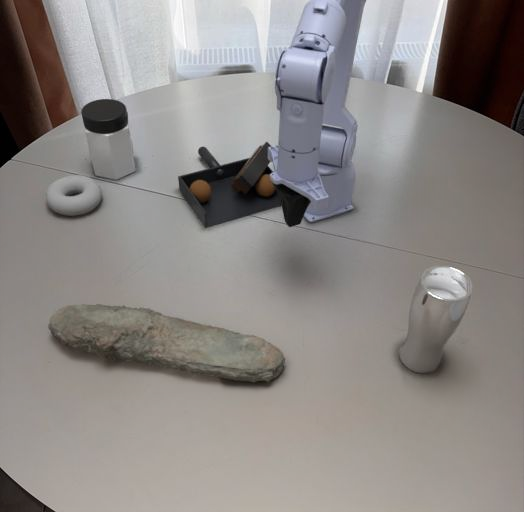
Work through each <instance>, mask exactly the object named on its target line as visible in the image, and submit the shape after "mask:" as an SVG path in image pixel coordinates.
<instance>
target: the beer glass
mask: <svg viewBox="0 0 524 512" xmlns="http://www.w3.org/2000/svg"><path fill="white" fill-rule="evenodd" d="M473 285H474V284H473V282H472V279H470V277H469V276H468V275H467V273H465V272H464V271H462V270H460V269H458V268H456V267H453V266H451V265H450V266H449V265H444V264H443V265H440V264H439V265H433V266H430V267H428V268H426V269H424V271H423V272H422V273H421V275H420V278H419V280H418V283H417V285H416V287H415V290H414V292H413V296H412V298H411V303H410V306H409V311H408V325H407V326H408V327H407V335H406V338H405V340H404V342H403V343H402V344H401V346H400V348H399V349H398V357H399V360H400V362H401V364H403V366H404V367H406V368H407V369H409V370H410V371H412V372H415V373H419V374H427V373H429V374H430V373H432V372H434V371H436V370H437V369H438V368H439V366H440V365H441V362H442V357H443V350H444V347H445V346H446V344H447V343H448V341H449V340H450V338H451V337H452V336H453V334H454V333H455V332H456V330H457V329H458V327H459V326H460V324H461V322H462V320H463V318H464V315H465V314H466V311H467V308H468V305H469V302H470V298H471V294H472V292H473V290H474V289H473V288H474V286H473Z"/></svg>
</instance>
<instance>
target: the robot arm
mask: <svg viewBox="0 0 524 512" xmlns="http://www.w3.org/2000/svg"><path fill="white" fill-rule="evenodd" d="M366 3H367V0H308V1H307V2H306V3H305V5H304V7H303V9H302V12H301V14H300V18H299V20H298V23H297V26H296V29H295V32H294V35H293V38H292V40H291V43H290V46H289V47H288V48H287V50H284V49H283V50H281V52H280V53H279V56H278V59H277V62H276V67H275V74H274V93H275V96H276V109H277V110H278V111H279V122H278V123H279V124H278V125H279V126H278V144H276V145H271V146H272V147H268V160H269V161H270V163H272V165H273V173H271V174H270V179H271V181H272V182H273V185H274V187H275V189H276V191H277V193H278V196H279V198H280V202H281V205H282V206H281V210H282V215H283V219H284V223H285V224H286V226H287V227H288V228H293V227H296V226H299V225H301V224H302V221H303V219H304V218H305V219H306V220H307V222H308V223H314V222H318V221H321V220H324V219H327V218H330V217H333V216H336V215H340V214H342V213H346V212H349V211H352V210H354V206H353V205H352V201H353V195H354V191H355V186H356V185H355V184H356V177H357V176H356V167H355V165H354V162H353V157H354V154H355V148H356V143H357V134H358V133H357V132H358V126H359V125H358V121H357V119H356V118H355V116H354V115H353V114H352V113H351V112H350V111H349V110H348V108H347V107H346V103H347V97H348V91H349V86H350V81H351V76H352V72H353V71H352V70H353V65H354V60H355V54H356V51H357V50H356V49H357V45H358V40H359V34H360V29H361V24H362V18H363V13H364V9H365V5H366Z"/></svg>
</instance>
